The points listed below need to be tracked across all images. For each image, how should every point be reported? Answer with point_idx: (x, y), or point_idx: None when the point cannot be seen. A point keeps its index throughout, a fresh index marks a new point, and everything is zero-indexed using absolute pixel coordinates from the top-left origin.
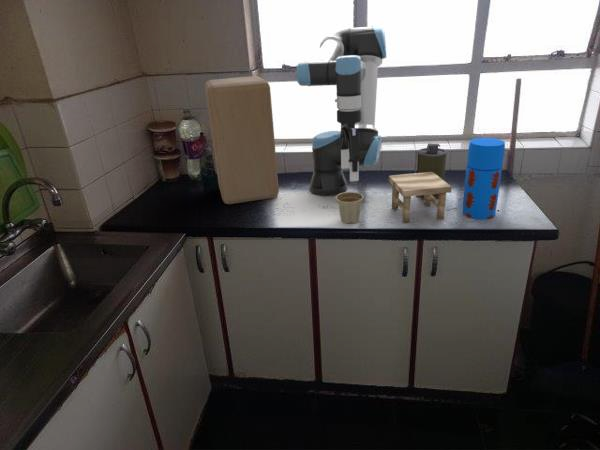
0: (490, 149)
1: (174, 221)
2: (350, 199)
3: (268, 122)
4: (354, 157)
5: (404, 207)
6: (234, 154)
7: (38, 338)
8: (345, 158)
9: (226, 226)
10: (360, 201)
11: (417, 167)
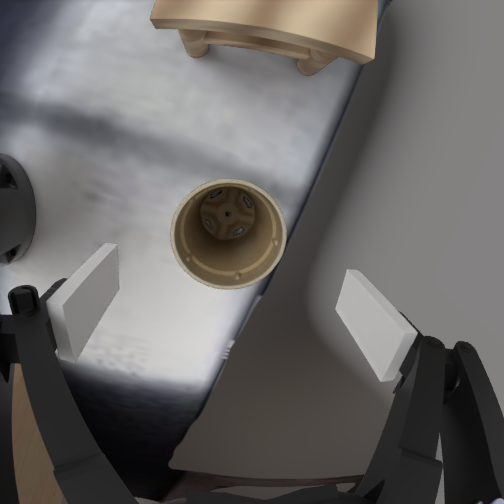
0: None
1: (143, 470)
2: (188, 211)
3: None
4: (455, 386)
5: (330, 61)
6: (46, 490)
7: (347, 491)
8: (95, 297)
9: (177, 438)
10: (269, 202)
11: None
